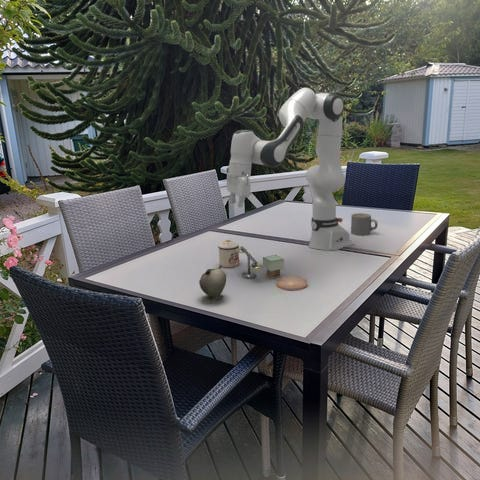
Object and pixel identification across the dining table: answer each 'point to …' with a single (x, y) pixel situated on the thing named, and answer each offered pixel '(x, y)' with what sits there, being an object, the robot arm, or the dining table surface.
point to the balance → (254, 265)
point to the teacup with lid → (228, 253)
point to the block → (273, 273)
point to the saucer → (291, 283)
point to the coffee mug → (362, 224)
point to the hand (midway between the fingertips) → (236, 205)
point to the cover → (273, 262)
